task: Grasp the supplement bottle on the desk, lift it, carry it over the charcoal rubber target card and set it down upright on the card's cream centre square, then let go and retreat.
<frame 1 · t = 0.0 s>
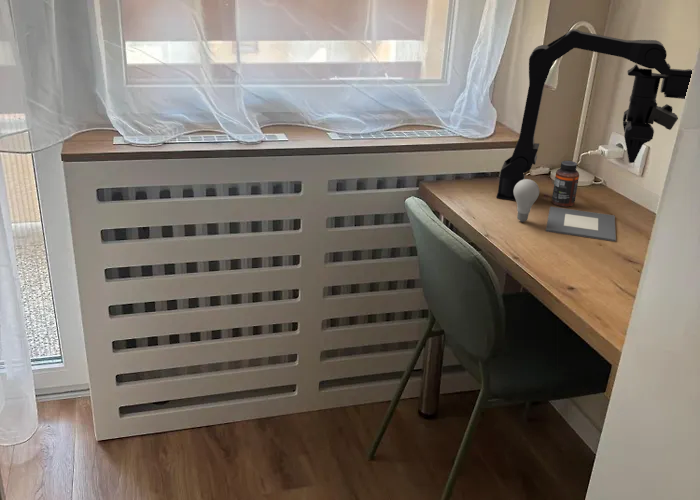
hand: (630, 157, 173), 15 cm above the table, fingers open, 9 cm apart
supplement bottle: (562, 204, 184), on the table
target card: (580, 224, 171), on the table
lightbulb: (521, 222, 172), on the table
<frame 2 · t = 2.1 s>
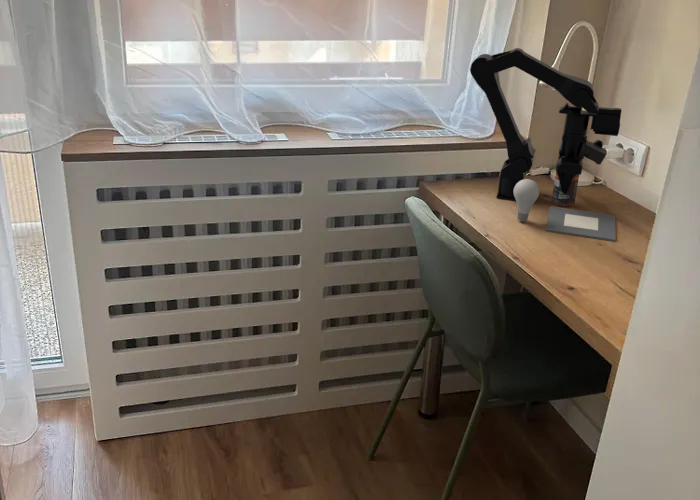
hand: (565, 189, 182), 4 cm above the table, fingers closed on supplement bottle, 6 cm apart
supplement bottle: (562, 204, 184), on the table, touching gripper
everything else where it was.
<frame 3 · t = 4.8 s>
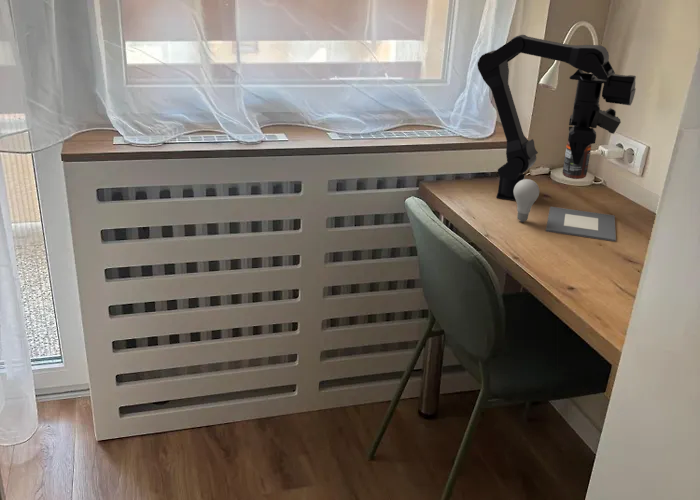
hand: (576, 160, 175), 13 cm above the table, fingers closed on supplement bottle, 6 cm apart
supplement bottle: (573, 176, 176), point 9 cm above the table, touching gripper
everything else where it was.
when the fingers open (5 cm above the table, at t = 7.4 s): supplement bottle stays where it is, resting on target card.
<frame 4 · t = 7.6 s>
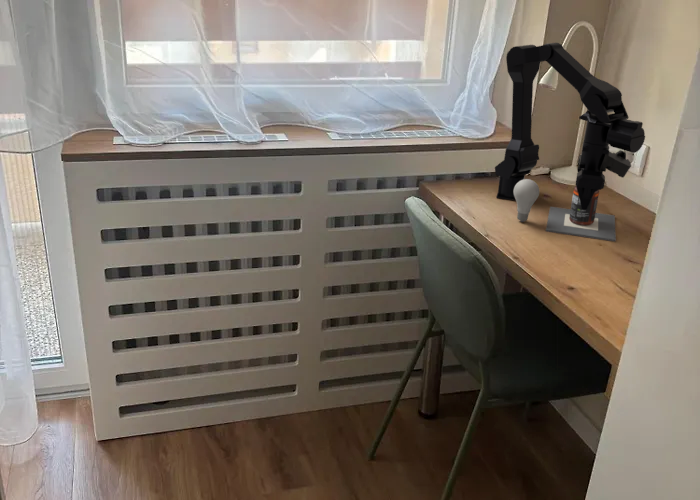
hand: (584, 203, 169), 5 cm above the table, fingers open, 8 cm apart
supplement bottle: (581, 222, 171), resting on target card
everything else where it was.
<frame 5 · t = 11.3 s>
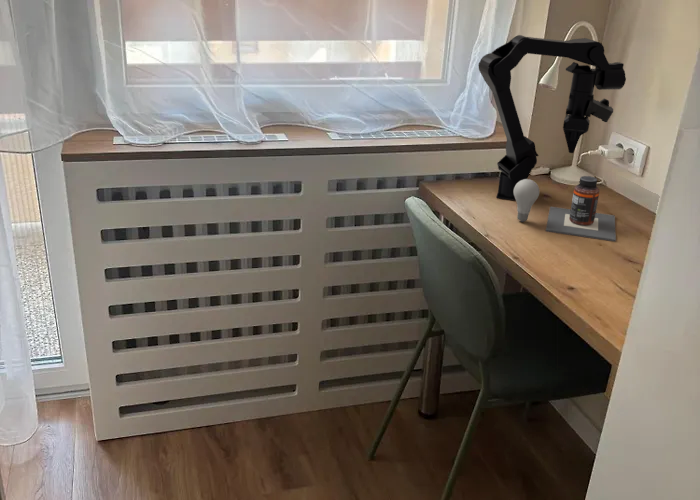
hand: (571, 148, 185), 13 cm above the table, fingers open, 9 cm apart
nothing on the table moved.
at the end: supplement bottle 0.2 cm off-centre on the target card, point 0.4 cm above the target card's base; supplement bottle tilted 0°; the gripper is holding nothing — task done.
